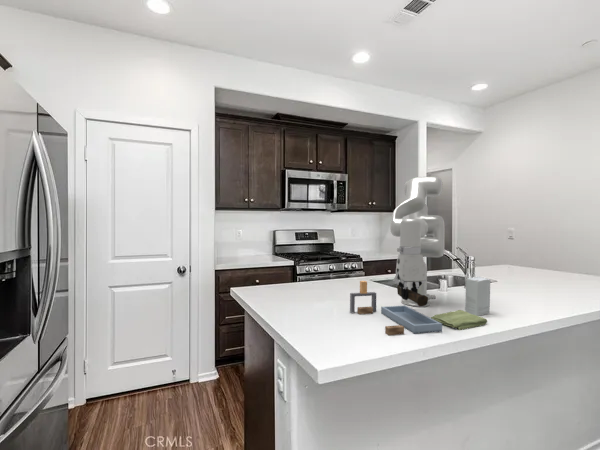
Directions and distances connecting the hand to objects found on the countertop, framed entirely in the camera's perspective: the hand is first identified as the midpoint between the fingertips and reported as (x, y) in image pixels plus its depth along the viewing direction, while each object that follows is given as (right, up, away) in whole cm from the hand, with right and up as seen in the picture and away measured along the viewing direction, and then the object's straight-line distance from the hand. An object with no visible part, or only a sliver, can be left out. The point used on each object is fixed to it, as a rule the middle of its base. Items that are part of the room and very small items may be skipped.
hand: (409, 298), depth 122 cm
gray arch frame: (-15, -9, +13) cm, 22 cm away
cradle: (-12, -9, -1) cm, 15 cm away
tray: (0, -9, 0) cm, 9 cm away
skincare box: (+33, -9, +13) cm, 37 cm away
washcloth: (+19, -10, 0) cm, 21 cm away
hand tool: (0, -1, 0) cm, 1 cm away
